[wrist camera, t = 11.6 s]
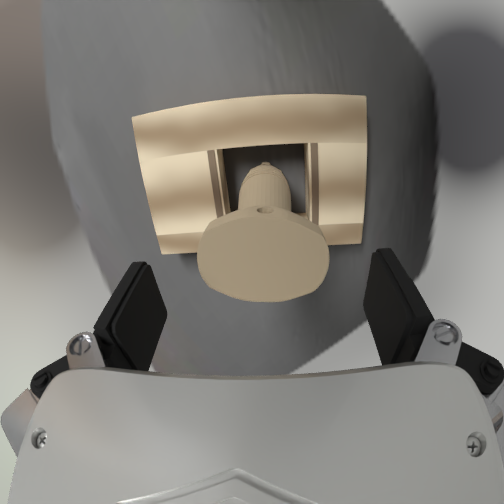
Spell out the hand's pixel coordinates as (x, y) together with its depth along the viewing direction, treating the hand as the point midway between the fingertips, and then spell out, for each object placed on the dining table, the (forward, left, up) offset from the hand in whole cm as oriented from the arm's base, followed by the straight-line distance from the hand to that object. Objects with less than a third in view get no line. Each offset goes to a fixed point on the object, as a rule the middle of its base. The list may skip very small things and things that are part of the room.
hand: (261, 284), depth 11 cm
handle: (0, 0, -17) cm, 17 cm away
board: (0, -1, -17) cm, 17 cm away
